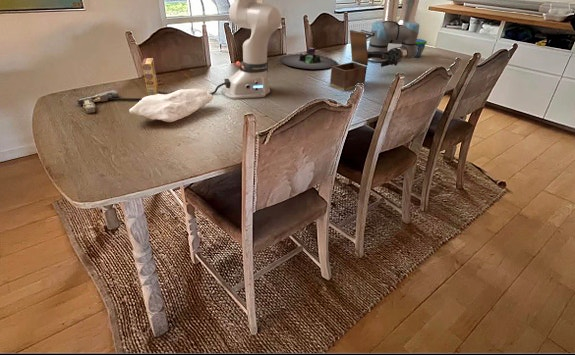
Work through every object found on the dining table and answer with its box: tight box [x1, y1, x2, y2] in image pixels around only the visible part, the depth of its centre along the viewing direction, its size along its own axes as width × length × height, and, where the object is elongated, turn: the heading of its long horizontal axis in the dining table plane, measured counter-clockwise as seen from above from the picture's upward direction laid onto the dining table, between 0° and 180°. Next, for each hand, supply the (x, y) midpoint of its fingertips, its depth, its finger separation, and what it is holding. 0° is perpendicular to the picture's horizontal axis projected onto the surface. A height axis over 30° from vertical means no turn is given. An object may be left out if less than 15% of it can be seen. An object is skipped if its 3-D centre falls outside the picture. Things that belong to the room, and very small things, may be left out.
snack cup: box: [413, 38, 428, 58], centre depth 243 cm, size 16×10×10 cm
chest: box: [329, 61, 368, 92], centre depth 186 cm, size 16×10×10 cm, turn 129°
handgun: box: [76, 89, 120, 114], centre depth 155 cm, size 3×18×15 cm
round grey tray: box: [279, 46, 338, 70], centre depth 221 cm, size 35×35×9 cm
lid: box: [349, 29, 375, 67], centre depth 183 cm, size 16×10×8 cm
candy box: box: [141, 57, 160, 96], centre depth 163 cm, size 9×4×15 cm, turn 13°
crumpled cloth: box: [129, 88, 214, 123], centre depth 147 cm, size 24×35×9 cm
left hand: (364, 4), depth 171 cm, fingers open, 8 cm apart
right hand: (371, 60), depth 192 cm, fingers open, 13 cm apart
